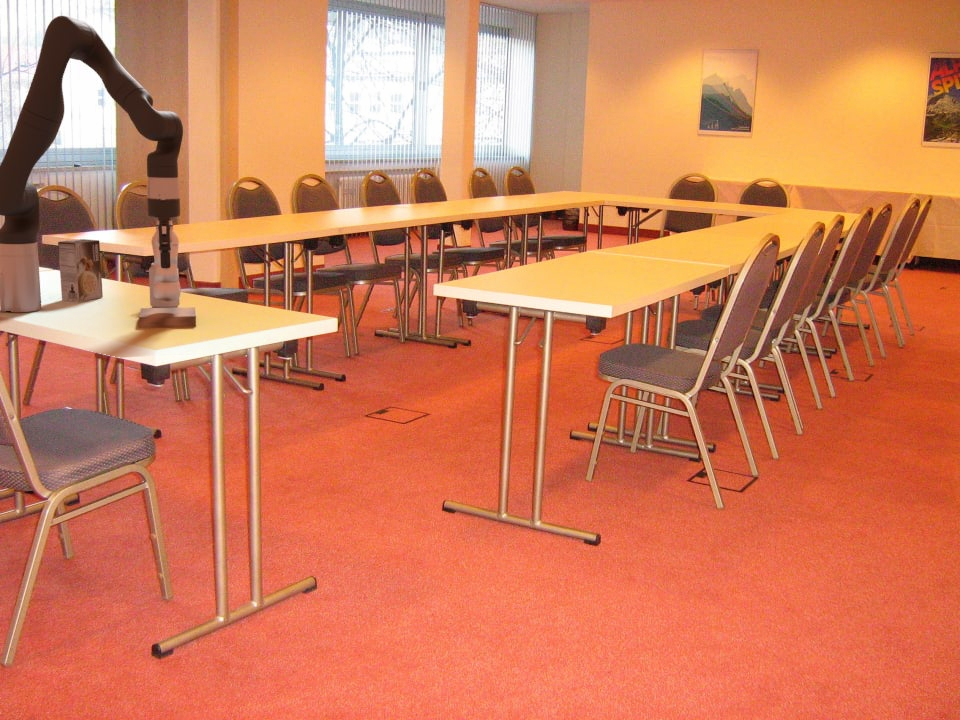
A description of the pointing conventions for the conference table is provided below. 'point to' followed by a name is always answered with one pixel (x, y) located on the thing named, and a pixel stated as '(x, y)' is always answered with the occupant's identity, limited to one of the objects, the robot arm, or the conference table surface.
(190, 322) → the walnut block
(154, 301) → the can
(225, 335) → the conference table surface
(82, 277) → the coffee box
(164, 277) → the plastic bottle
